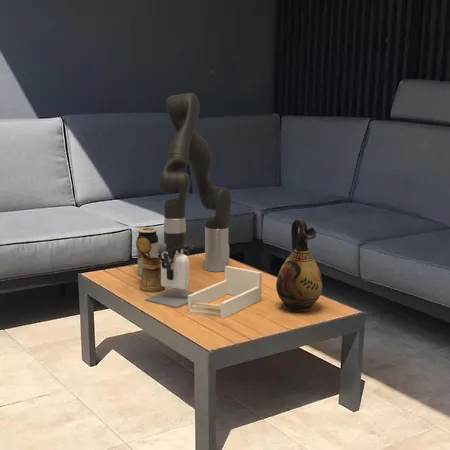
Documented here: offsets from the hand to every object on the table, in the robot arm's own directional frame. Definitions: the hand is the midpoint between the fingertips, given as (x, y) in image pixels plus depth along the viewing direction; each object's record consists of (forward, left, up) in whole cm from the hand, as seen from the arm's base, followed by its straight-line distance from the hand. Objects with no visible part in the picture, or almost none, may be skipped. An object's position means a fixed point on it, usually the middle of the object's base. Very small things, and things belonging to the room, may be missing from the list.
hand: (175, 277), depth 249 cm
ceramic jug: (-17, +39, -8) cm, 43 cm away
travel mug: (-17, -27, -8) cm, 33 cm away
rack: (-5, +18, -8) cm, 20 cm away
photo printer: (0, 0, -4) cm, 4 cm away
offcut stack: (+6, +18, -8) cm, 21 cm away
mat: (0, 0, -8) cm, 8 cm away
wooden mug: (-5, -16, -8) cm, 18 cm away
